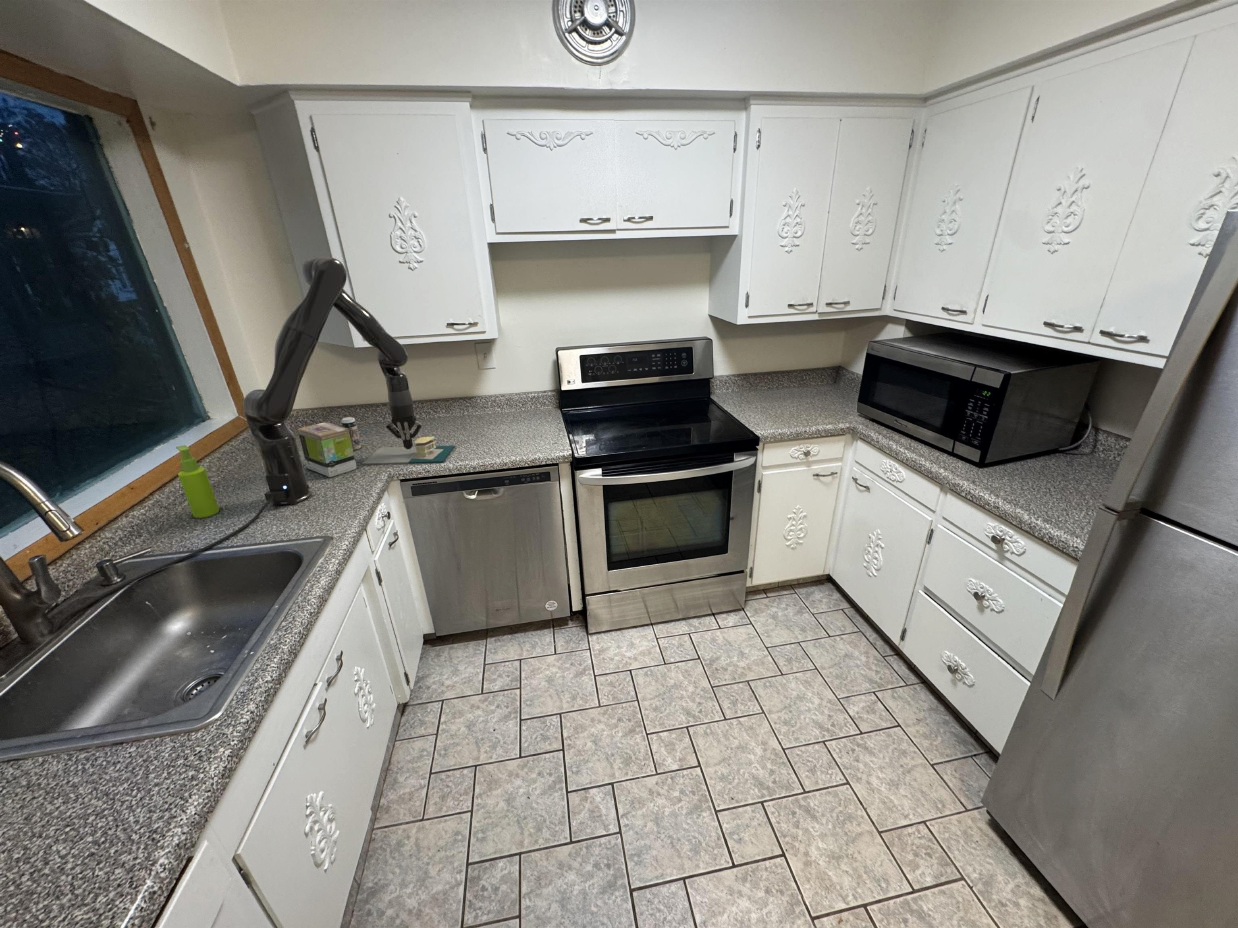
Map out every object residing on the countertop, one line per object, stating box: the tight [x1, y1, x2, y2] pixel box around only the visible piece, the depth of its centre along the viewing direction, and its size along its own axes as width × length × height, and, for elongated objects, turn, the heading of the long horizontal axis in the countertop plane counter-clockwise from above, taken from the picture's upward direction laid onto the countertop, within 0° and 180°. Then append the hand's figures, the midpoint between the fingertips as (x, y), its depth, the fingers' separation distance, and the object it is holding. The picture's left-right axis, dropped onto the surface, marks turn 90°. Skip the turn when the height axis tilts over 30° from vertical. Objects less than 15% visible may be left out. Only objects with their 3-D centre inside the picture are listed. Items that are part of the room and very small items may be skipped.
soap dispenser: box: [175, 444, 220, 519], centre depth 141 cm, size 6×7×20 cm
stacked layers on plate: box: [410, 436, 444, 459], centre depth 184 cm, size 10×9×6 cm
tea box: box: [297, 421, 357, 478], centre depth 171 cm, size 15×10×15 cm
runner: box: [361, 445, 455, 466], centre depth 185 cm, size 16×28×1 cm, turn 93°
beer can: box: [341, 416, 362, 451], centre depth 190 cm, size 5×5×12 cm
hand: (408, 448), depth 184 cm, fingers closed
